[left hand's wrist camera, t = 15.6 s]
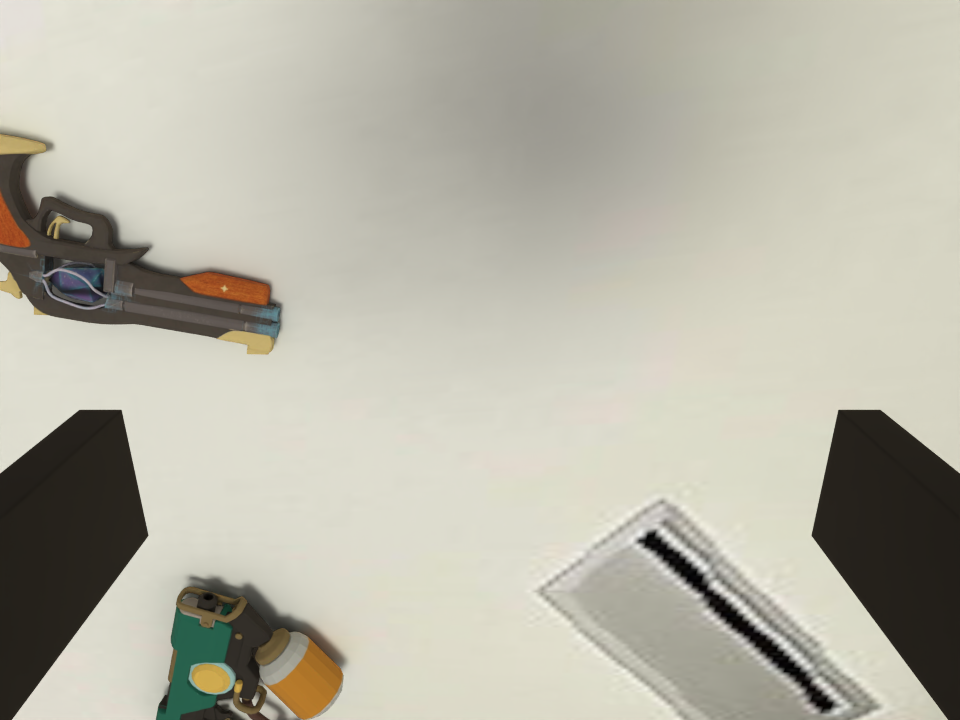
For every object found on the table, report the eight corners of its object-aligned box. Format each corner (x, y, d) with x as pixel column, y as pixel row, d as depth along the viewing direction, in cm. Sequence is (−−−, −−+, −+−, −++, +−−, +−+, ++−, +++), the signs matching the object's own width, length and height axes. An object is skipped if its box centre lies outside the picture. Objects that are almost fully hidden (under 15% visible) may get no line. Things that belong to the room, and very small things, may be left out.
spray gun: (283, 768, 58) (119, 688, 55) (382, 651, 52) (204, 555, 49) (265, 819, 54) (88, 736, 51) (370, 699, 48) (176, 598, 45)
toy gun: (-76, 120, 36) (-76, 304, 38) (292, 195, 39) (270, 362, 41) (-43, 123, 38) (-45, 296, 41) (300, 193, 41) (278, 351, 44)
